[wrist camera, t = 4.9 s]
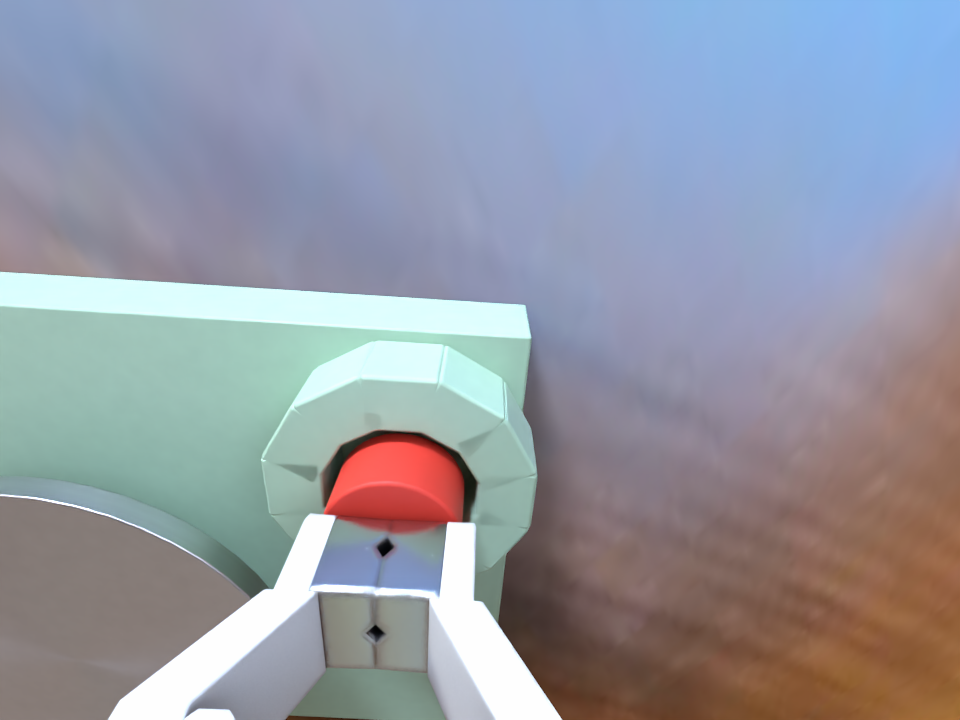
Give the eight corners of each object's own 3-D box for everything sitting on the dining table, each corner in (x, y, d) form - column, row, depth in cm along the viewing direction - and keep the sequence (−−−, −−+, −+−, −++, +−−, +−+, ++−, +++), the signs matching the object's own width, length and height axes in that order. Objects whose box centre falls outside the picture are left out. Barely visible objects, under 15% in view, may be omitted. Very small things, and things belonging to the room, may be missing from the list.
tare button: (467, 435, 10) (464, 487, 9) (461, 531, 12) (458, 591, 10) (337, 427, 10) (313, 479, 9) (344, 525, 11) (324, 583, 10)
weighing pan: (276, 489, 10) (265, 510, 10) (316, 757, 15) (310, 781, 14) (-228, 460, 10) (-268, 480, 10) (-35, 740, 15) (-54, 764, 14)
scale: (536, 304, 12) (552, 375, 9) (493, 669, 19) (493, 784, 16) (-159, 260, 12) (-383, 318, 9) (36, 645, 18) (-55, 757, 15)
